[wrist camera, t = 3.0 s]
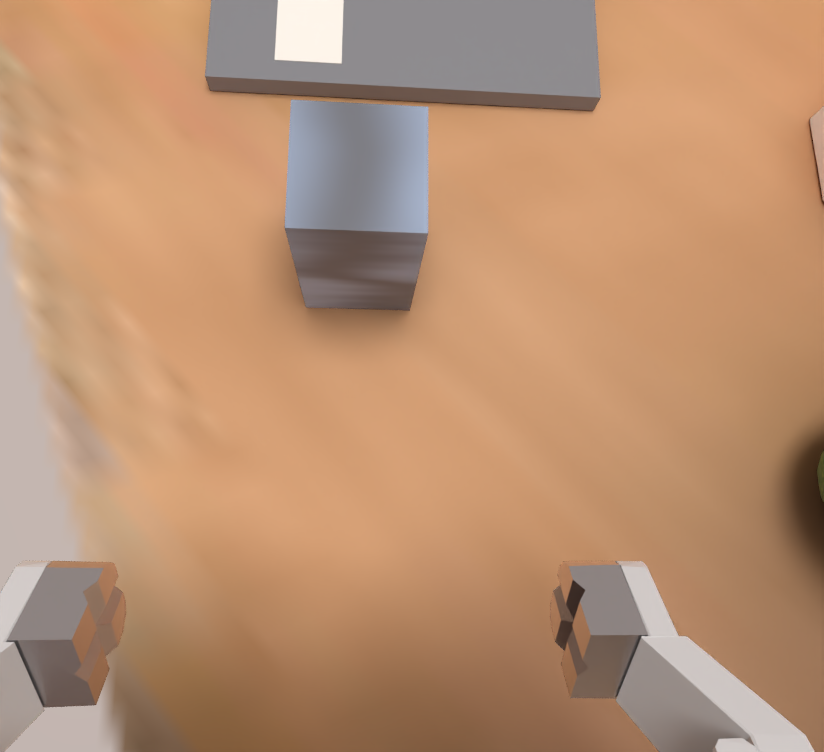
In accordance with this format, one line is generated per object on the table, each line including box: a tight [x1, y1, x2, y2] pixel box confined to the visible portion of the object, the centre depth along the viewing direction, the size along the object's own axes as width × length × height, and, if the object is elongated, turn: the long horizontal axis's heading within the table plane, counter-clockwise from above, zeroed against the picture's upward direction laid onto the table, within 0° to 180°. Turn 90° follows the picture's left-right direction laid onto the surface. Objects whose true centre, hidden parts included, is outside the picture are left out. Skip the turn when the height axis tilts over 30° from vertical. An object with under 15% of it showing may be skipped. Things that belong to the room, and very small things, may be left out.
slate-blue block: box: [285, 100, 428, 310], centre depth 25 cm, size 4×4×8 cm
